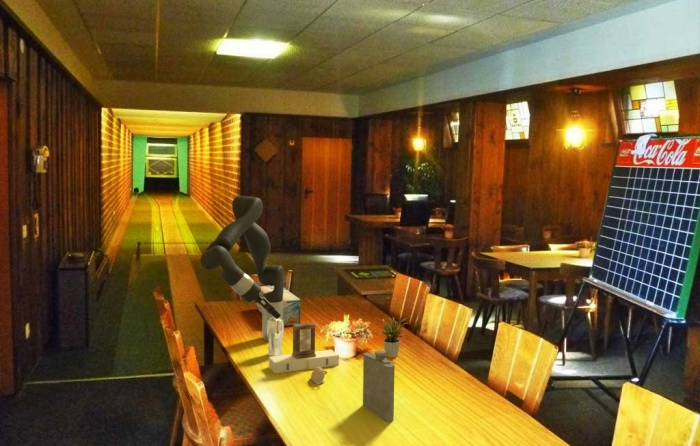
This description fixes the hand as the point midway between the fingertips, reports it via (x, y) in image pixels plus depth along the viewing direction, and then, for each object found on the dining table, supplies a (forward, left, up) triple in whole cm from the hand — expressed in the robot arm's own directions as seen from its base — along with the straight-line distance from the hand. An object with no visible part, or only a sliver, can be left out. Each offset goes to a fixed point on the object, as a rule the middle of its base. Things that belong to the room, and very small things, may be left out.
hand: (275, 314), depth 241 cm
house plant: (-35, +37, -22) cm, 56 cm away
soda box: (-75, -37, -22) cm, 86 cm away
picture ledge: (-8, +8, -21) cm, 24 cm away
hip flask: (+25, +49, -22) cm, 59 cm away
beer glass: (-17, -9, -22) cm, 29 cm away
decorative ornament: (+6, +20, -22) cm, 30 cm away
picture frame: (-8, +8, -17) cm, 21 cm away
